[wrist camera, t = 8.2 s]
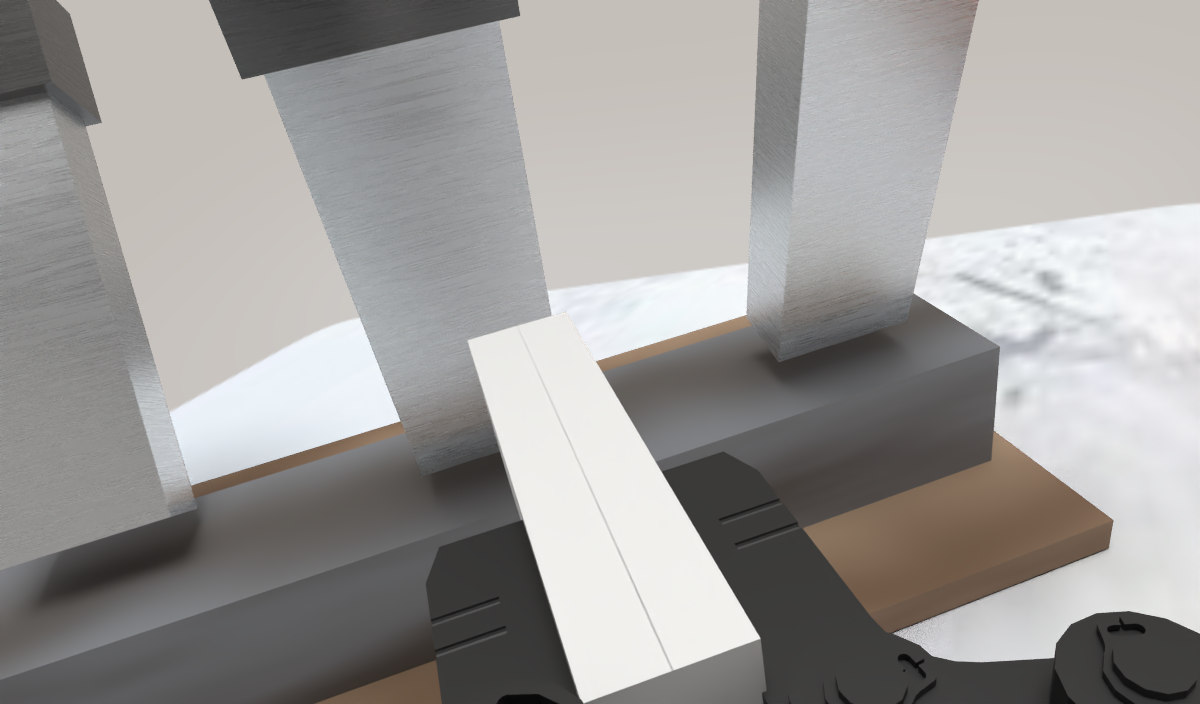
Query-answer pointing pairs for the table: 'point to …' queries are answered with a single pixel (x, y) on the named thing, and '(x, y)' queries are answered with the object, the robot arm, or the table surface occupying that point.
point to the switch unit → (485, 502)
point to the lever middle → (409, 186)
